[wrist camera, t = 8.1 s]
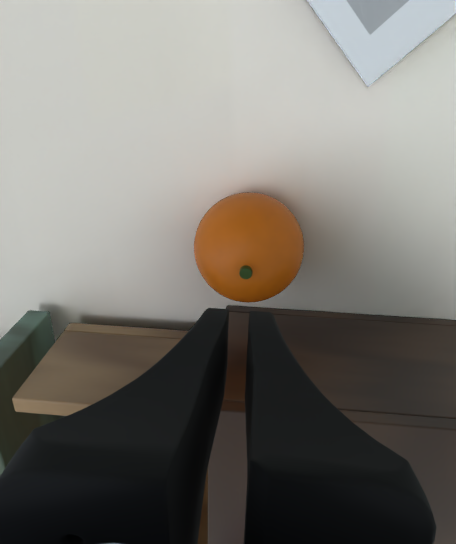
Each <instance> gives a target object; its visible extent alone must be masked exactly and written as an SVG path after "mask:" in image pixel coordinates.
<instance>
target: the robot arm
mask: <svg viewBox="0 0 456 544" xmlns="http://www.w3.org/2000/svg"><path fill="white" fill-rule="evenodd" d="M228 329H229V309H215V308H208V309H207V310H206V311H204V313H203V314H202V316H201V317H200V318H199V319H198V321H197V322H196V323H195V324H194V326H193V327H192V328H191V329H190V330H189V331H188V332H187V334H186V335H185V336H184V337H183V338H182V339H181V340H180V341H179V342H178V343H177V344H176V345H175V346H174V347H173V348H172V349H171V350H170V351H169V352H168V353H167V354H166V355H165V356H164V357H163V358H161V359H160V360H159V361H158V362H157V363H156V364H155V365H153V366H152V367H151V368H150V369H148V370H147V371H146V372H145V373H143V374H142V375H141V376H139V377H138V378H137V379H135V380H134V381H132V382H130V383H129V384H127V385H125V386H124V387H122V388H121V389H119V390H117V391H116V392H114V393H113V394H111V395H109V396H107V397H105V398H104V399H102V400H100V401H98V402H96V403H94V404H92V405H90V406H88V407H86V408H84V409H82V410H79V411H77V412H75V413H73V414H70V415H68V416H65V417H63V418H60V419H58V420H55V421H53V422H50V423H48V424H45V425H43V426H40V427H37V428H34V429H33V431H32V432H31V433H30V435H29V436H28V437H27V438H26V440H25V441H24V442H23V443H22V444H21V446H20V447H19V449H18V450H17V451H16V453H15V454H14V456H13V457H12V459H11V460H10V462H9V463H8V465H7V466H6V468H5V470H4V471H3V473H2V474H1V476H0V544H198V536H199V528H200V520H201V512H202V504H203V496H204V489H205V481H206V474H207V469H208V464H209V459H210V455H211V450H212V446H213V442H214V437H215V433H216V429H217V425H218V420H219V416H220V412H221V407H222V403H223V398H224V393H225V384H226V375H227V364H228ZM245 418H246V444H247V494H246V512H245V530H244V544H433V543H434V541H435V534H436V528H437V527H436V523H435V520H434V516H433V513H432V510H431V507H430V504H429V502H428V499H427V497H426V494H425V492H424V490H423V488H422V487H421V485H420V483H419V481H418V479H417V477H416V475H415V473H414V471H413V469H412V467H411V465H410V463H409V462H408V460H406V459H405V458H403V457H401V456H400V455H398V454H397V453H395V452H394V451H392V450H391V449H389V448H388V447H386V446H385V445H383V444H381V443H380V442H378V441H377V440H375V439H374V438H373V437H371V436H370V435H369V434H367V433H366V432H365V431H363V430H362V429H361V428H359V427H358V426H357V425H356V424H354V423H353V422H352V421H351V420H350V419H348V418H347V417H346V416H345V415H344V414H343V413H342V412H341V411H340V410H338V409H337V408H336V407H335V406H334V405H333V404H332V403H331V402H330V401H329V400H328V399H327V398H326V397H325V396H324V395H323V394H322V393H321V391H320V390H319V389H318V388H317V387H316V386H315V384H314V383H313V382H312V381H311V380H310V378H309V377H308V376H307V374H306V373H305V372H304V370H303V369H302V367H301V366H300V365H299V363H298V362H297V360H296V359H295V357H294V356H293V354H292V352H291V350H290V349H289V347H288V345H287V344H286V342H285V340H284V338H283V336H282V334H281V332H280V330H279V328H278V326H277V323H276V320H275V317H274V315H273V314H272V313H271V312H261V311H250V313H249V325H248V344H247V363H246V382H245Z"/></svg>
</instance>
